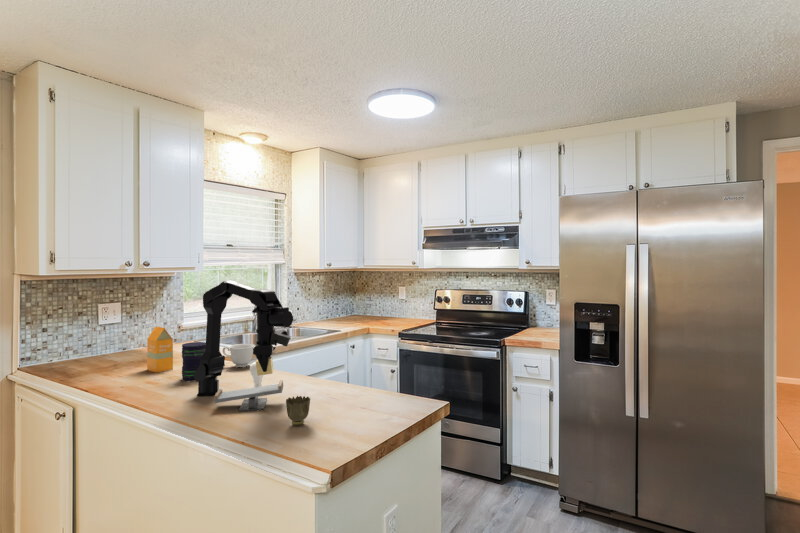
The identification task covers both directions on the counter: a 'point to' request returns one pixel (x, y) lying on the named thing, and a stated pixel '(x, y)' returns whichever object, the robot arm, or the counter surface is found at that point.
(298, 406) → the cup
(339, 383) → the counter surface
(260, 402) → the pivot stand
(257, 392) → the beam
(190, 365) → the dark blue cylinder
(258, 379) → the lightbulb
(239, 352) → the teacup
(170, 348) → the orange juice
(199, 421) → the counter surface
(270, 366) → the golden cube
